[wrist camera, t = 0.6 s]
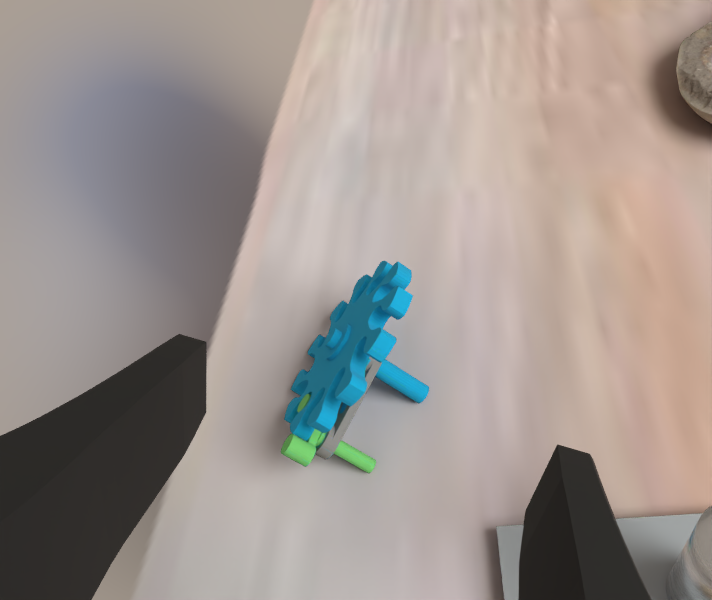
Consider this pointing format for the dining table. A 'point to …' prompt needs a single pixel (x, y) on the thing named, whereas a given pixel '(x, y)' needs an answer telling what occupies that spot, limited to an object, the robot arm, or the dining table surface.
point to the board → (643, 539)
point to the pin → (694, 564)
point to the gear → (350, 369)
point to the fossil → (697, 71)
